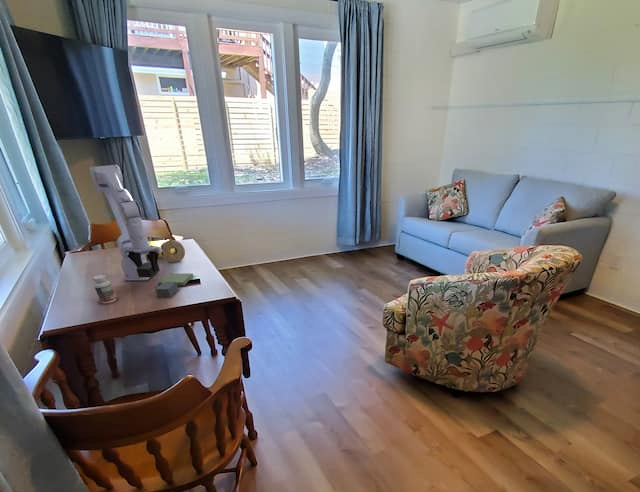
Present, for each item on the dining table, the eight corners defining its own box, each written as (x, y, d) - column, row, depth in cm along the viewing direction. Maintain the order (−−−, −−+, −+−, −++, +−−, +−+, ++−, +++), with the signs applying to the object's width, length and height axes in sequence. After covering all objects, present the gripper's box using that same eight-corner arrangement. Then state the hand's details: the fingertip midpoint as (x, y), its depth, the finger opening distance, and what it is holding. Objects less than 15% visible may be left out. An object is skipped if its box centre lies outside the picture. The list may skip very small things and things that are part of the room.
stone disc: (164, 264, 184) (158, 243, 179) (163, 262, 187) (157, 241, 182) (187, 260, 189) (182, 239, 183) (186, 258, 191) (181, 237, 186)
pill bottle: (98, 301, 151) (88, 277, 145) (113, 296, 154) (104, 272, 149) (104, 305, 148) (94, 280, 142) (119, 300, 151) (110, 276, 146)
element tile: (171, 257, 194) (168, 247, 191) (138, 259, 191) (135, 249, 188) (176, 247, 206) (174, 238, 203) (145, 250, 203) (143, 240, 201)
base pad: (160, 285, 163) (159, 282, 162) (170, 276, 172) (169, 273, 171) (184, 285, 163) (183, 282, 162) (193, 276, 171) (192, 273, 171)
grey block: (157, 297, 153) (155, 289, 151) (166, 289, 159) (163, 281, 157) (170, 297, 153) (168, 289, 151) (178, 289, 159) (176, 281, 157)
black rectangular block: (138, 277, 153) (136, 269, 151) (148, 270, 159) (145, 262, 157) (151, 277, 153) (148, 269, 151) (160, 270, 159) (157, 262, 157)
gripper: (112, 238, 145) (125, 274, 152) (151, 238, 144) (162, 274, 151) (123, 233, 151) (134, 267, 158) (160, 233, 150) (170, 267, 157)
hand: (148, 270), depth 155 cm, fingers closed on black rectangular block, 5 cm apart
